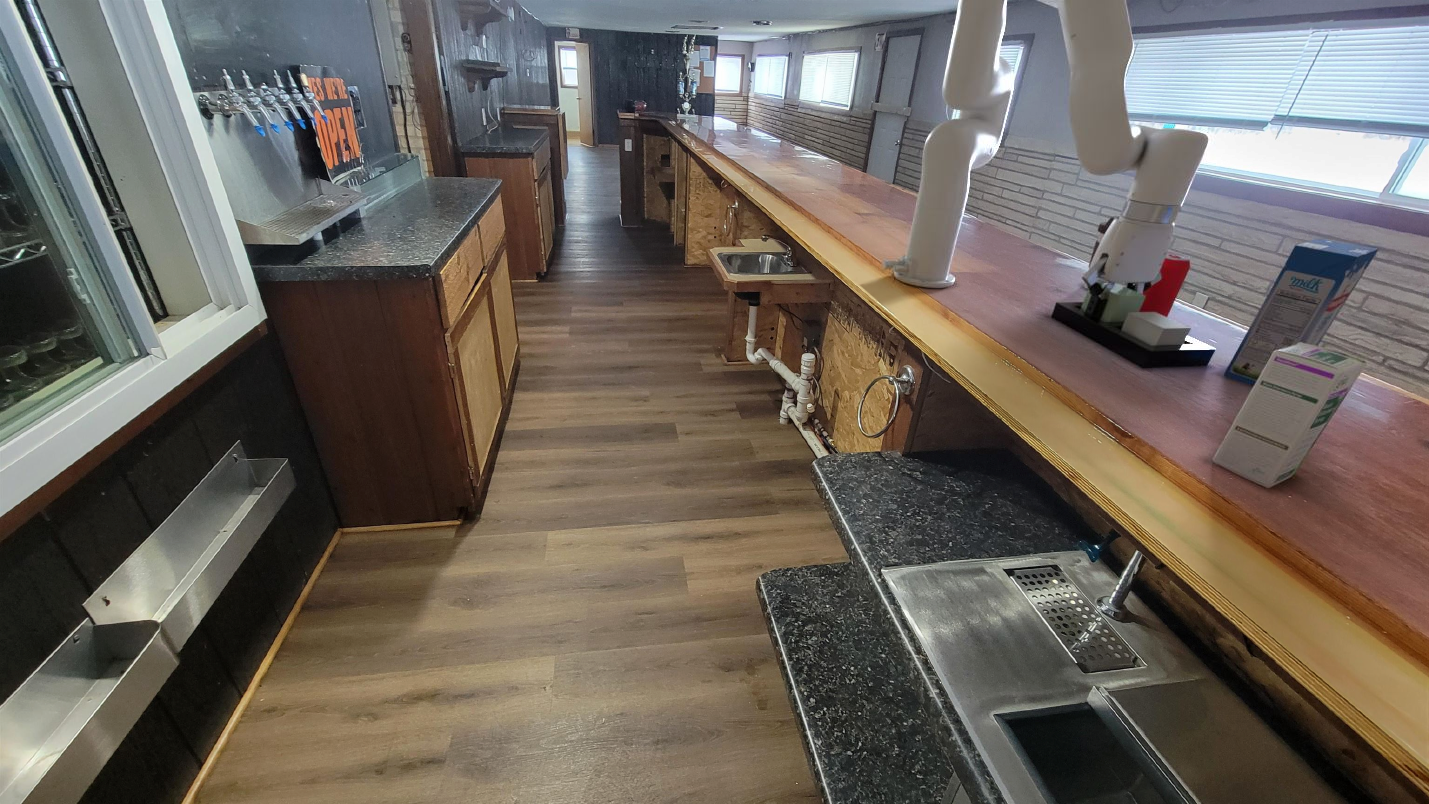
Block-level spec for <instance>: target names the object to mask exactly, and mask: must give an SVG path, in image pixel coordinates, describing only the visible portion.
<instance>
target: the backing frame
mask: <svg viewBox="0 0 1429 804" xmlns="http://www.w3.org/2000/svg"><path fill="white" fill-rule="evenodd" d="M1083 302H1084V301H1057V302H1056V303H1055V304H1054V308H1053V310H1052V313H1051V315H1050V318H1051V319H1053V320H1055V321H1057V322H1058V323H1060V324H1062V325H1064V326H1065V327H1067V328H1069V329H1071V330H1073V331H1074V332H1076V333H1078V334H1080V335H1081V336H1083V337H1085V338H1087V339H1088V340H1090V341H1093V342H1095V343H1096V344H1098V345H1099V346H1101V347H1103V348H1105V349H1107V350H1109V351H1110V352H1112V353H1114V354H1116V355H1118V356H1119V357H1121V358H1123V359H1125V360H1127V361H1128V362H1130V363H1132V364H1134V365H1136V366H1137V367H1140V368H1141V369H1158V368H1159V369H1161V368H1162V369H1163V368H1164V369H1165V368H1186V367H1187V368H1188V367H1190V368H1191V367H1208V365H1209V364H1210V362H1211V359H1212V358H1213V356H1214V354H1215V352H1216V350H1217V348H1215V347H1213V346H1211V345H1209V344H1206V343H1204V342H1202V341H1199V340H1197V339H1195V338H1193V337H1191V336H1189V335H1188V336H1187V338H1186V340H1185V342H1184V344H1183V345H1153V346H1152V345H1150V344H1148V343H1146V342H1144V341H1142V340H1140V339H1138V338H1136V337H1134V336H1132V335H1130V334H1128V333H1126V332H1124V331H1122V330H1121V329H1122V327H1123V325H1124V322H1104V321H1102V320H1100V319H1098V318H1096V317H1094V316H1092V315H1090V314H1088V313H1086V312H1084V311H1082V310H1080V309H1081V307H1082V304H1083Z"/></svg>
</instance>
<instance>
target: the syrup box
mask: <svg viewBox="0 0 1429 804" xmlns="http://www.w3.org/2000/svg"><path fill="white" fill-rule="evenodd" d="M1367 364H1368V363H1367V361H1366V360H1363V359H1361V358H1359V357H1355V356H1352V355H1350V354H1348V353H1344V352H1341V351H1337V350H1334V349H1332V348H1331V349H1330V348H1328V347H1323V346H1319V345H1318V346H1315V345H1310V344H1305V343H1302V342H1299V343H1297V344H1296V345H1293V346H1288V347H1285V348H1282V349H1279V350H1276V351H1273V353H1272V355H1271V357H1270V359H1269V361H1268V362H1267V364H1266V366H1265V368H1264V369H1263V371H1262V373H1261V375H1260V376H1259V378H1258V380H1257V382H1256V383H1255V385H1254V386H1252V388H1251V390H1250V392H1249V394H1248V395H1247V398H1246V399H1245V401H1244V402H1243V404H1242V407H1241V408H1240V410H1239V412H1238V413H1237V415H1236V417H1235V418H1234V420H1233V422H1232V424H1231V426H1230V427H1229V430H1228V432H1227V433H1226V434H1225V436H1224V438H1223V439H1222V442H1221V444H1220V445H1219V447H1218V449H1217V450H1216V452H1215V454H1214V456H1213V458H1212V462H1213V463H1215V464H1216V465H1218V466H1219V467H1222V468H1224V469H1225V470H1228V471H1230V472H1232V473H1233V474H1236V475H1238V476H1240V477H1242V478H1244V479H1247V480H1249V481H1251V482H1253V483H1255V484H1258V485H1260V486H1262V487H1264V488H1266V489H1270V488H1272V487H1273V486H1276V485H1279V484H1280V483H1282V482H1285V481H1286V480H1287V479H1289V478H1291V477H1293V476H1295V475H1296V472H1297V471H1298V469H1299V468H1300V467H1301V465H1302V464H1303V462H1304V460H1305V459H1306V457H1307V456H1308V454H1309V453H1310V451H1311V450H1312V448H1313V447H1314V445H1315V444H1316V442H1317V441H1318V439H1319V438H1320V436H1321V435H1322V434H1323V431H1324V430H1325V429H1326V427H1327V425H1328V424H1329V423H1330V421H1331V419H1332V418H1333V417H1334V415H1335V414H1336V412H1337V411H1338V409H1339V407H1340V406H1341V405H1342V403H1343V401H1344V400H1345V398H1346V397H1347V395H1348V393H1349V392H1350V390H1351V389H1352V388H1353V386H1354V384H1355V383H1356V381H1357V380H1358V378H1359V377H1360V375H1361V374H1362V372H1363V371H1364V370H1365V367H1366V366H1367Z"/></svg>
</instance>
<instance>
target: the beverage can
mask: <svg viewBox="0 0 1429 804" xmlns="http://www.w3.org/2000/svg"><path fill="white" fill-rule="evenodd" d="M1190 269H1191V257H1190V256H1189V255H1186V254H1184V253H1178V252H1174V251H1173V252H1172V251H1167V254H1166V257H1165V259H1164V262H1163V264H1162V266H1161V269H1160V272H1161V276H1162V278H1161V280H1160V281H1158V282H1157V283H1155V284H1154V285H1152V286H1151V287H1150V288H1149V289H1148V290H1146V291H1145V292H1144V293H1143V295H1145V296H1146V297H1145V299H1144V302H1143V304H1142V306H1141V308H1140V311H1139V312H1156V313H1158V314H1161V315H1163V316H1165V317H1167V318H1168V316H1169V314H1170V312H1171V310H1172V308H1173V306H1174V304H1175V301H1176V299H1177V297H1178V295H1179V293H1180V291H1181V288H1182V286H1183V284H1184V282H1185V280H1186V277H1187V276H1188V273H1189V271H1190Z"/></svg>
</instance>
